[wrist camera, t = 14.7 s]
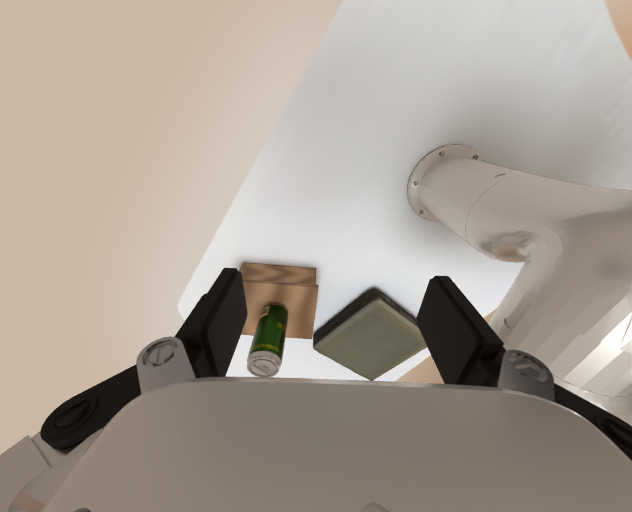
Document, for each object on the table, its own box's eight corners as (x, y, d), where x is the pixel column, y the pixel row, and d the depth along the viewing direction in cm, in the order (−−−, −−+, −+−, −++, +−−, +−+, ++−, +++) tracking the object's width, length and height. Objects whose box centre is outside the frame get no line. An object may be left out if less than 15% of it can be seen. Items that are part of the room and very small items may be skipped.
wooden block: (318, 266, 49) (318, 287, 43) (312, 315, 56) (311, 339, 50) (241, 260, 48) (230, 280, 42) (245, 310, 55) (236, 334, 49)
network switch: (306, 338, 61) (305, 355, 56) (362, 277, 51) (366, 292, 46) (375, 368, 67) (379, 385, 63) (436, 319, 57) (446, 336, 53)
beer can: (256, 313, 46) (238, 369, 35) (271, 297, 44) (258, 351, 33) (278, 325, 48) (267, 382, 37) (294, 311, 46) (287, 366, 35)
